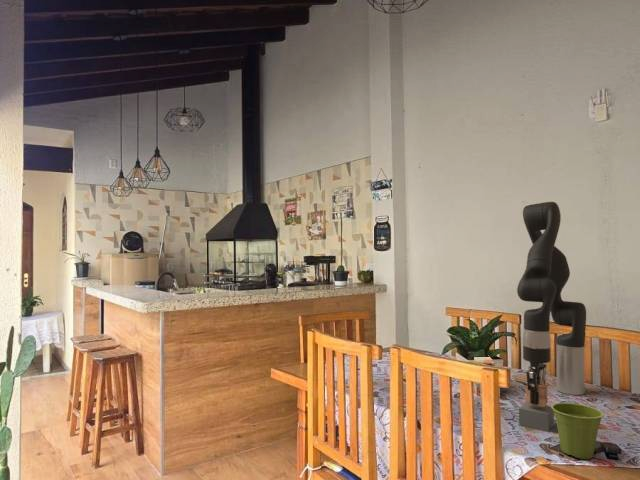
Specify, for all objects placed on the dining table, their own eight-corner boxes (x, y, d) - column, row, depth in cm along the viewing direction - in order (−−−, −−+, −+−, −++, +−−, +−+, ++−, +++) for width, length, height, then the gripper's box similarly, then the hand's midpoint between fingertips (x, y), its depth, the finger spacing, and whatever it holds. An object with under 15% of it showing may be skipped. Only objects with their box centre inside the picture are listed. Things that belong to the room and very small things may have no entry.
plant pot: (615, 460, 116) (614, 414, 116) (579, 467, 112) (579, 420, 112) (574, 441, 127) (574, 400, 127) (540, 447, 123) (540, 404, 123)
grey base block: (525, 417, 145) (525, 401, 145) (554, 423, 140) (554, 406, 140) (519, 425, 138) (519, 408, 139) (548, 431, 134) (548, 414, 134)
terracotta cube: (529, 399, 143) (529, 383, 143) (547, 402, 140) (547, 386, 140) (525, 403, 139) (525, 386, 139) (543, 407, 136) (543, 390, 136)
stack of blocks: (467, 379, 187) (467, 349, 188) (483, 380, 186) (483, 349, 187) (476, 396, 166) (476, 361, 167) (495, 397, 165) (495, 362, 166)
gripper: (529, 339, 148) (529, 393, 147) (517, 347, 136) (516, 405, 136) (555, 342, 143) (555, 398, 143) (544, 350, 132) (544, 411, 131)
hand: (536, 401), depth 139 cm, fingers closed on terracotta cube, 4 cm apart
